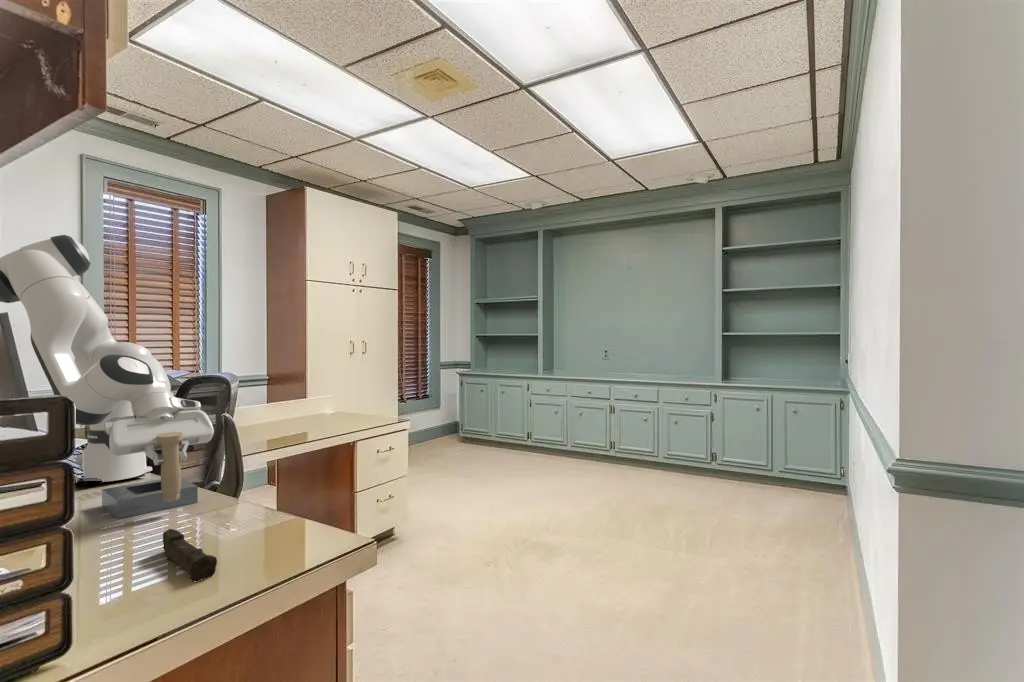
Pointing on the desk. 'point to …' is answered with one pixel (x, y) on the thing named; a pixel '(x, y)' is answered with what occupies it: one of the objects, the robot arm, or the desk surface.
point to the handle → (170, 465)
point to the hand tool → (188, 556)
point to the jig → (144, 498)
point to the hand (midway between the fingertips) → (171, 461)
